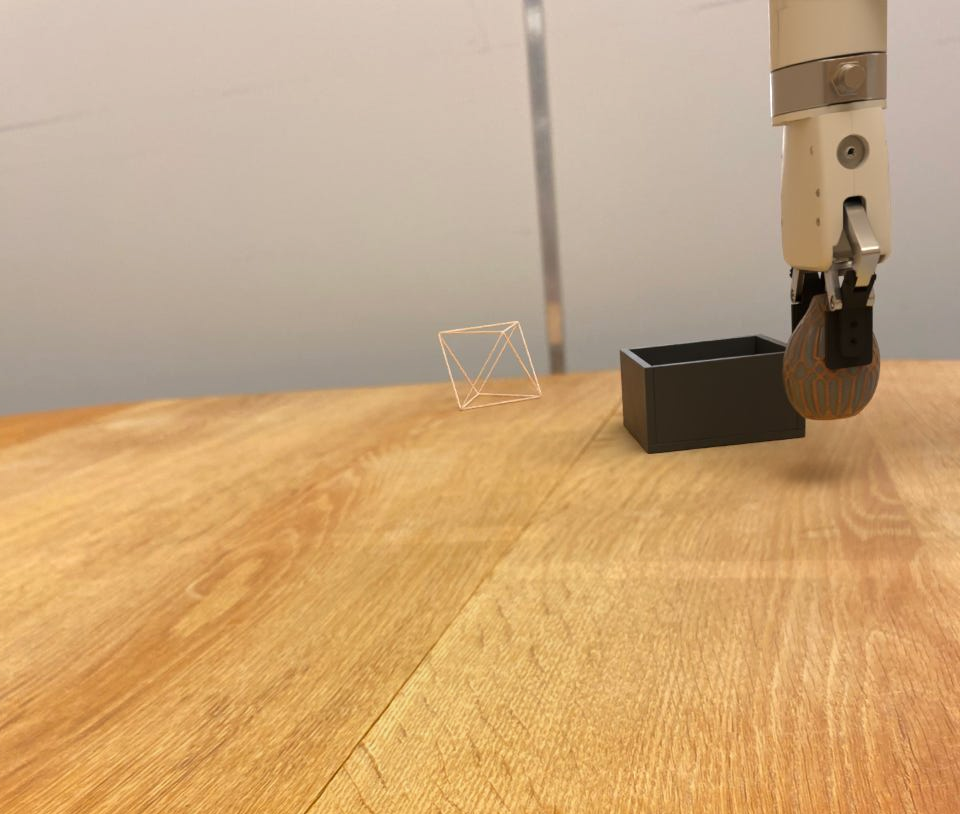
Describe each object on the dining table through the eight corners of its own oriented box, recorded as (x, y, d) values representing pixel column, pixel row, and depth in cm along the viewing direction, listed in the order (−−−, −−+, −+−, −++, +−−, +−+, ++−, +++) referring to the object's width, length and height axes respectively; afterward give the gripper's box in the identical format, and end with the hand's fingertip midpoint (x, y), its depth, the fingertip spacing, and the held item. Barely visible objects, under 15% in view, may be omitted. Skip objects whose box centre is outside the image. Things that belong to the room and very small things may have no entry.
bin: (761, 410, 112) (761, 334, 109) (805, 436, 98) (806, 350, 95) (623, 425, 112) (619, 349, 109) (648, 453, 98) (644, 367, 95)
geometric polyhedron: (439, 401, 139) (430, 330, 136) (517, 388, 142) (510, 318, 138) (467, 414, 128) (458, 337, 124) (551, 400, 131) (545, 324, 127)
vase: (882, 420, 76) (883, 293, 73) (782, 428, 78) (779, 304, 75) (877, 403, 82) (878, 284, 79) (785, 410, 84) (782, 295, 81)
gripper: (937, 68, 64) (930, 368, 71) (838, 101, 80) (840, 342, 87) (814, 86, 64) (818, 383, 71) (740, 115, 81) (749, 355, 87)
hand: (830, 358), depth 79 cm, fingers closed on vase, 6 cm apart
